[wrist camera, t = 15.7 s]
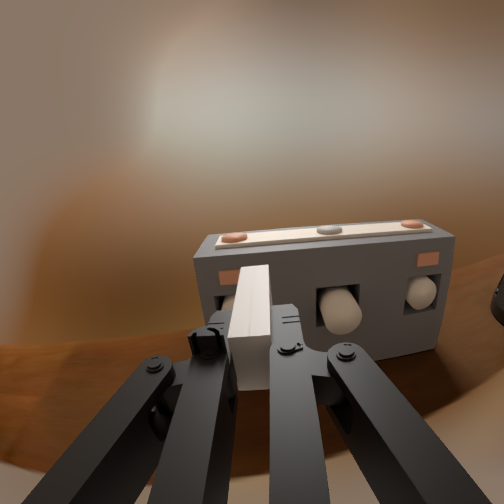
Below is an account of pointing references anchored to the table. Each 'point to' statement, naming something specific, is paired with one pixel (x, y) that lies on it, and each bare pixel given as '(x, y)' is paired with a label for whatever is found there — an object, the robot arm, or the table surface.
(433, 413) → the table surface
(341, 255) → the button panel
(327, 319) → the button middle
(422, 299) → the button
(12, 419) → the table surface
